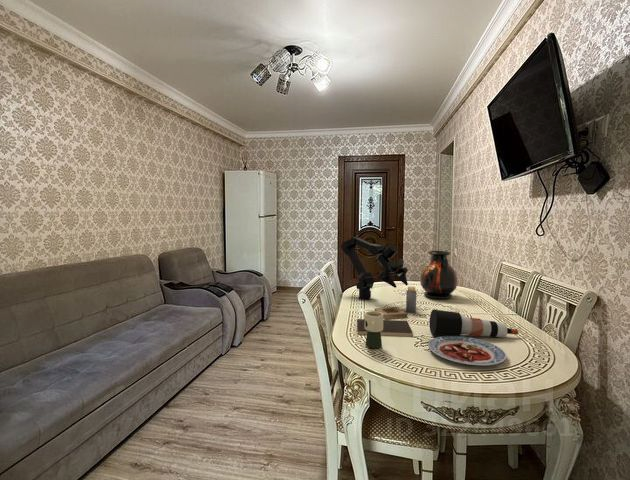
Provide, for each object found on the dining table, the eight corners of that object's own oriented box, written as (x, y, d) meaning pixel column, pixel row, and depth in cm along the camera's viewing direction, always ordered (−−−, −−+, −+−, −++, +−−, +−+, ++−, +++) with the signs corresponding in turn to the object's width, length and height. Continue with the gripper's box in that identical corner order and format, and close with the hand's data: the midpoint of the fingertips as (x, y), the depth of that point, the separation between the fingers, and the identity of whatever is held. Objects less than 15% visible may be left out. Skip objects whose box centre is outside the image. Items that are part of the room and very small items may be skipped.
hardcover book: (412, 337, 139) (412, 332, 139) (357, 335, 142) (357, 330, 142) (406, 325, 155) (407, 320, 155) (357, 323, 158) (357, 318, 158)
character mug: (365, 340, 135) (365, 308, 134) (383, 341, 133) (383, 309, 132) (363, 351, 124) (363, 317, 123) (382, 352, 123) (383, 318, 122)
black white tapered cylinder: (517, 350, 136) (526, 332, 130) (432, 339, 138) (438, 321, 133) (507, 331, 144) (516, 314, 139) (428, 321, 147) (433, 304, 141)
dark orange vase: (414, 293, 213) (414, 250, 211) (446, 292, 216) (447, 249, 214) (429, 302, 192) (430, 254, 190) (464, 301, 194) (465, 253, 192)
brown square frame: (374, 312, 173) (374, 308, 173) (395, 310, 176) (395, 306, 176) (384, 319, 162) (385, 315, 161) (407, 317, 165) (407, 313, 164)
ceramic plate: (468, 377, 105) (468, 368, 105) (413, 347, 128) (413, 339, 128) (523, 362, 115) (523, 354, 115) (463, 337, 139) (463, 330, 138)
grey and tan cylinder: (406, 312, 172) (406, 288, 171) (406, 310, 177) (406, 286, 176) (416, 313, 171) (416, 288, 170) (415, 310, 176) (416, 286, 175)
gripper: (382, 255, 176) (398, 279, 167) (405, 252, 186) (421, 275, 178) (371, 268, 182) (386, 291, 174) (394, 265, 193) (409, 287, 185)
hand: (401, 286), depth 178 cm, fingers open, 9 cm apart
